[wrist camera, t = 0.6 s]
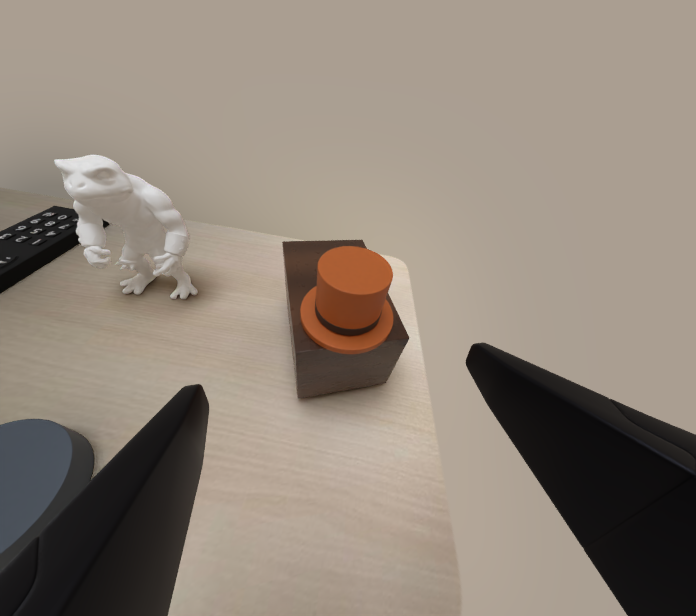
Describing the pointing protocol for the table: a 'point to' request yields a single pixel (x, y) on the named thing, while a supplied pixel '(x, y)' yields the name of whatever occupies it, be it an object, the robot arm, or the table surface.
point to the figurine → (127, 222)
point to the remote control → (36, 243)
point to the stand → (37, 478)
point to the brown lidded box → (315, 361)
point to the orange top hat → (349, 301)
